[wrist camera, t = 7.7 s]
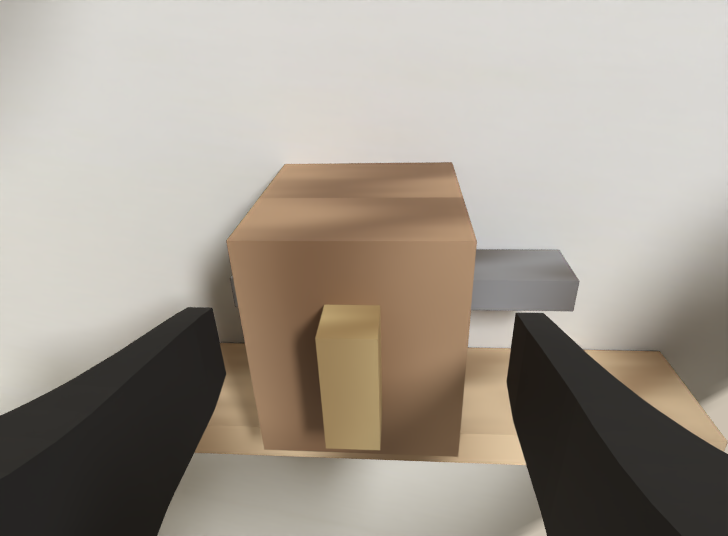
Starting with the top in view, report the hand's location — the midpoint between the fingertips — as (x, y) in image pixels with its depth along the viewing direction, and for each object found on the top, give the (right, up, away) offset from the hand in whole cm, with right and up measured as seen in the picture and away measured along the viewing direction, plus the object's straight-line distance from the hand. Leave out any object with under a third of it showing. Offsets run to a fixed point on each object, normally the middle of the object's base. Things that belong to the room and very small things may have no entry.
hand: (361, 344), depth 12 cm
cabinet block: (0, +2, +4) cm, 5 cm away
